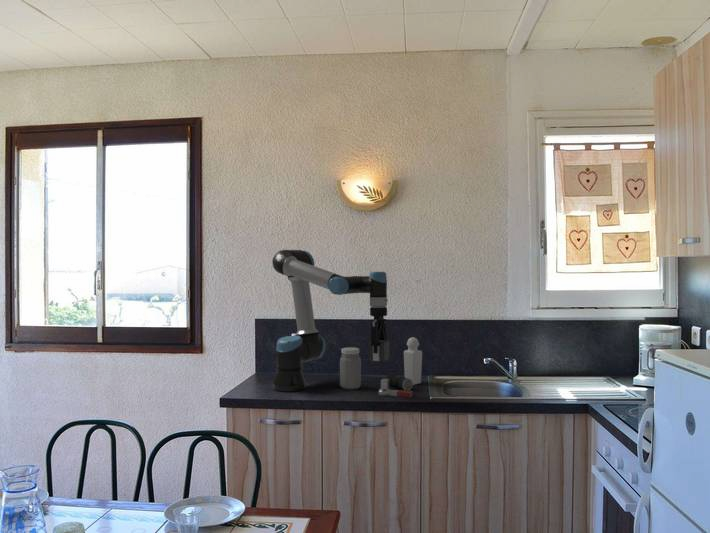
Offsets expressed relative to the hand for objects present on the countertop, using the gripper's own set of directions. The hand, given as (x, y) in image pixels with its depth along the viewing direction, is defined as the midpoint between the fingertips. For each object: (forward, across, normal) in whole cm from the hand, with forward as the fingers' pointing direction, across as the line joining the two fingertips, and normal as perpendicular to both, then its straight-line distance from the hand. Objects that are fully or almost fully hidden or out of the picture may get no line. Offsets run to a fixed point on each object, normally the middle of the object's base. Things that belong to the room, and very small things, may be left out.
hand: (379, 359), depth 236 cm
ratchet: (+16, +3, -6) cm, 17 cm away
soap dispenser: (+16, +29, -7) cm, 34 cm away
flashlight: (+16, +18, -3) cm, 25 cm away
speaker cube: (0, 0, 0) cm, 0 cm away
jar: (+16, +9, +18) cm, 25 cm away
